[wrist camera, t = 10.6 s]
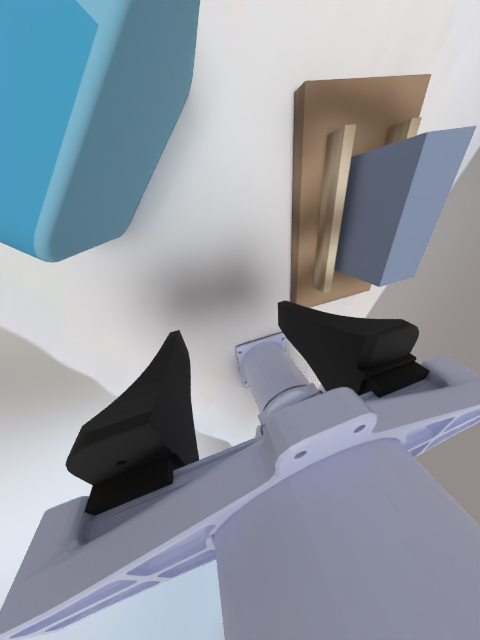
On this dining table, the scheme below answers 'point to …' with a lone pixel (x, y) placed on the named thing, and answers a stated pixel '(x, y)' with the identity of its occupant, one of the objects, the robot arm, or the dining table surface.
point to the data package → (86, 114)
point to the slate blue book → (397, 204)
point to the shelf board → (339, 168)
